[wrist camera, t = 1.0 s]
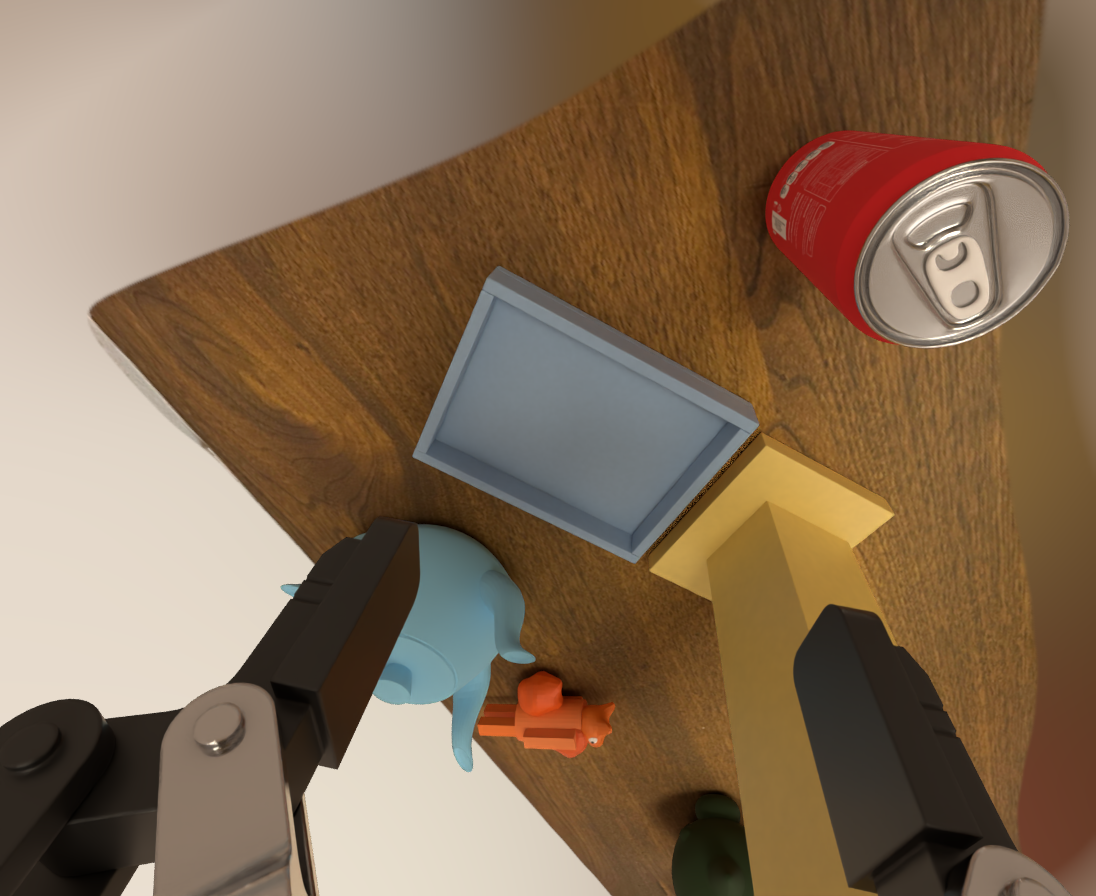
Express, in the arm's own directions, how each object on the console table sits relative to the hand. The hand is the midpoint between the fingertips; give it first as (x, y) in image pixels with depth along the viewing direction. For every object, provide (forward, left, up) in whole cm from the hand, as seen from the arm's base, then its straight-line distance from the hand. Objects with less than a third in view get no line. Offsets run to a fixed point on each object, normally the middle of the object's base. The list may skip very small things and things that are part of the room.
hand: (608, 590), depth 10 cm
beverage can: (-8, +5, -20) cm, 22 cm away
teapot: (+25, -1, -20) cm, 32 cm away
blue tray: (+8, +1, -20) cm, 22 cm away
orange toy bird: (+34, +12, -20) cm, 42 cm away
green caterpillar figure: (+45, +38, -20) cm, 63 cm away
